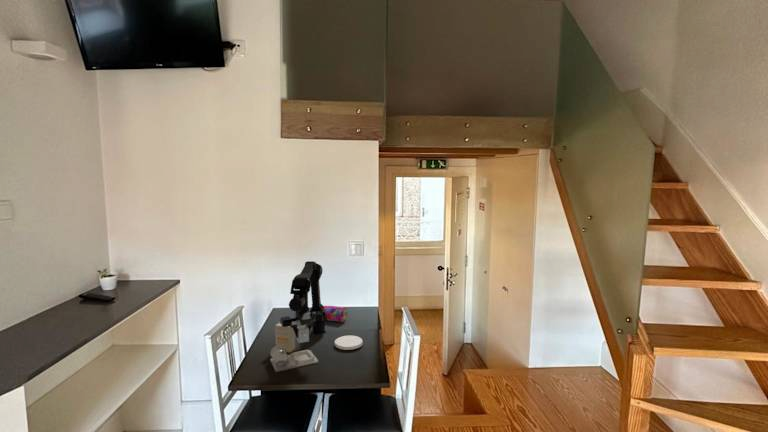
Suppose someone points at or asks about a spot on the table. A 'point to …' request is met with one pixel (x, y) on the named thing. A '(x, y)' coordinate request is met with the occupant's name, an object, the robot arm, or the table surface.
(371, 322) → the table surface
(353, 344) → the plastic lid
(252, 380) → the table surface
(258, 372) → the table surface
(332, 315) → the pencil case
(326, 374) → the table surface
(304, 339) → the grey block with cylinder
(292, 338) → the supplement box
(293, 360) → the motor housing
